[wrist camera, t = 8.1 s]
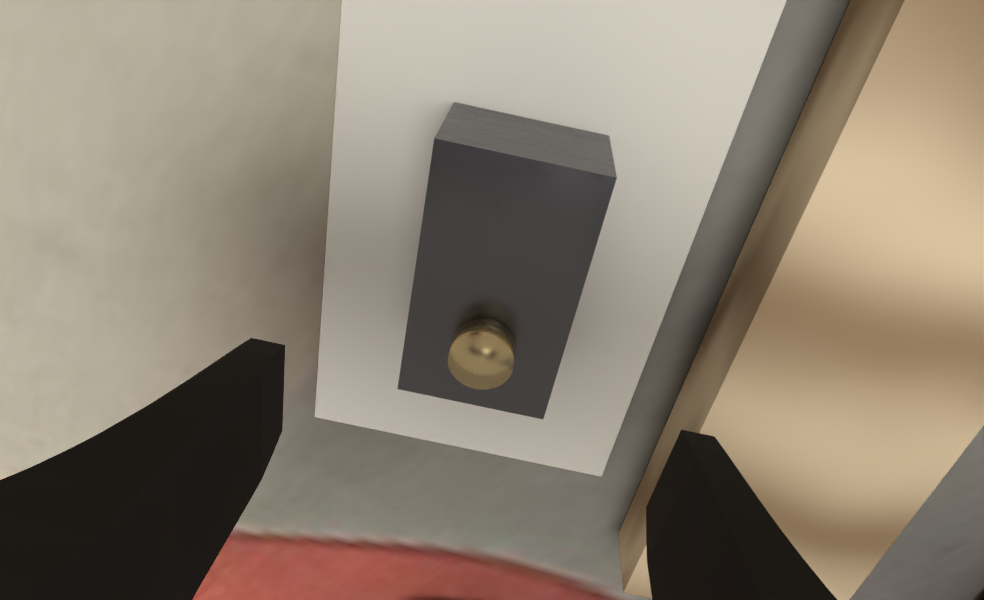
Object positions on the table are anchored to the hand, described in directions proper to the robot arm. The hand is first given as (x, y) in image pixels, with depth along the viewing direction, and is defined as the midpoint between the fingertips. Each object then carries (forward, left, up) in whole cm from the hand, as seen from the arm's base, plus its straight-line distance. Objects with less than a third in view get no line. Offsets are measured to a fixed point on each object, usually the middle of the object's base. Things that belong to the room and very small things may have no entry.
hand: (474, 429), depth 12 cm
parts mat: (0, 0, -8) cm, 8 cm away
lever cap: (0, 0, -8) cm, 8 cm away
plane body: (0, -10, -8) cm, 13 cm away
